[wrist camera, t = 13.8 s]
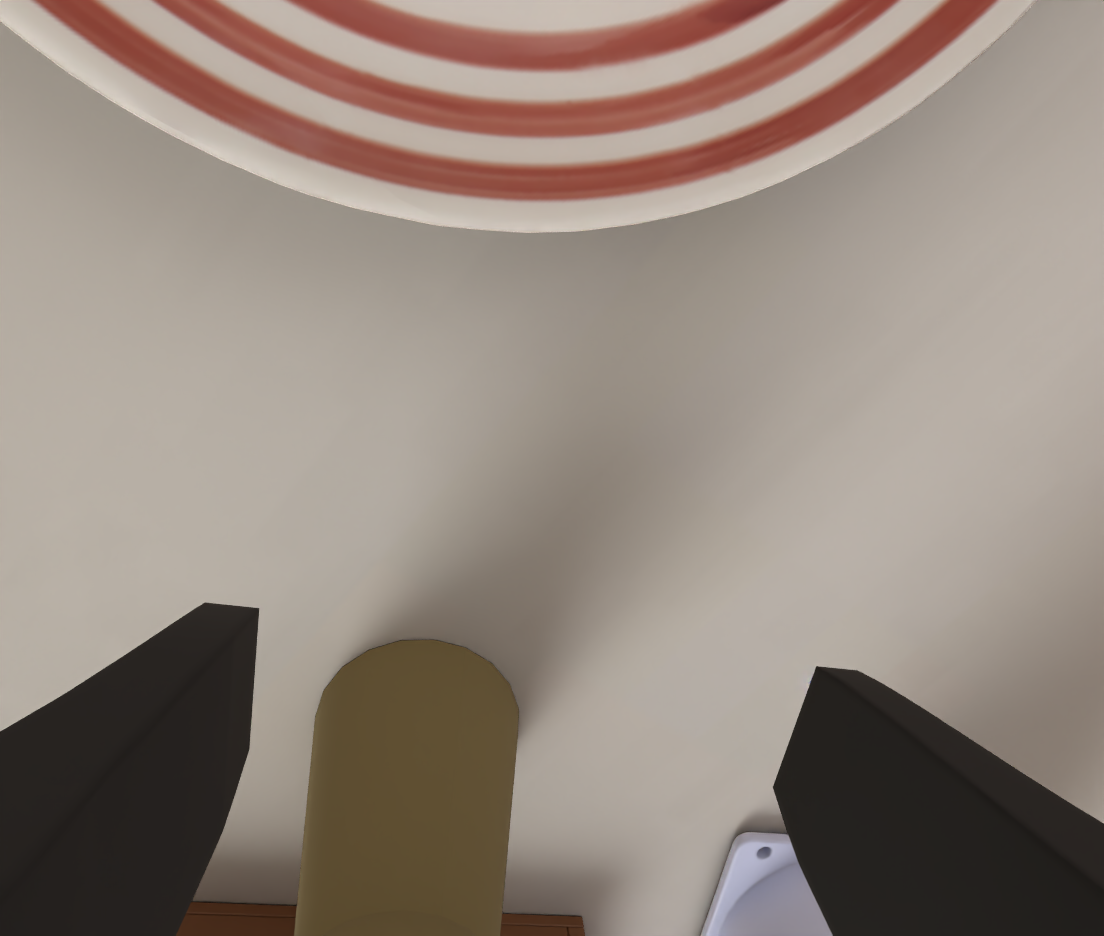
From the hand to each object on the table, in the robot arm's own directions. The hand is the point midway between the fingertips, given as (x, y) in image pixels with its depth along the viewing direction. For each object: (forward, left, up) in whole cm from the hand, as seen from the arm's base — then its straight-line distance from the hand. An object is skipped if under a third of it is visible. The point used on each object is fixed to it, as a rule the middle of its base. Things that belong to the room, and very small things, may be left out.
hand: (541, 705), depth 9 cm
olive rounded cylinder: (+1, +9, -11) cm, 14 cm away
